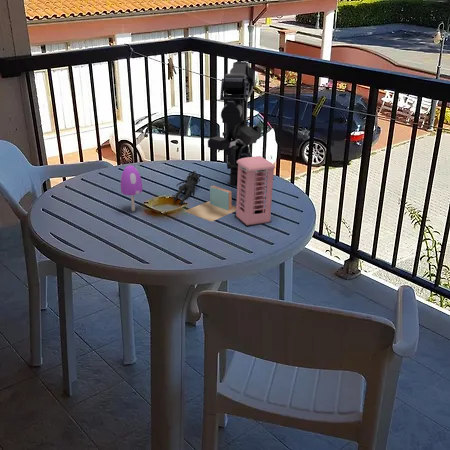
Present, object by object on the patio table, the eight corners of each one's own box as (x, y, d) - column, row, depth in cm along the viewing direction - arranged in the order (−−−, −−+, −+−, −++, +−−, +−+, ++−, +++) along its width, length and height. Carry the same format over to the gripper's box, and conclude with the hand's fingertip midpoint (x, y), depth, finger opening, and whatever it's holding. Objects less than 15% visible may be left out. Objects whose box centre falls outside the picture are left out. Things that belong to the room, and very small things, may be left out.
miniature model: (233, 217, 171) (233, 155, 163) (259, 212, 175) (261, 151, 166) (247, 228, 163) (248, 164, 155) (274, 223, 167) (276, 159, 159)
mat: (214, 199, 184) (214, 198, 184) (241, 209, 177) (241, 208, 177) (184, 212, 175) (184, 211, 175) (211, 222, 167) (211, 221, 167)
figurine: (171, 192, 178) (191, 163, 191) (163, 203, 182) (183, 175, 196) (188, 204, 179) (208, 175, 192) (180, 215, 183) (199, 186, 196)
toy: (147, 208, 178) (145, 164, 171) (136, 216, 172) (133, 170, 166) (130, 205, 180) (126, 161, 174) (118, 212, 175) (114, 167, 168)
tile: (213, 202, 181) (213, 185, 178) (231, 209, 176) (231, 191, 173) (210, 204, 180) (209, 186, 177) (228, 210, 175) (228, 192, 172)
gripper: (233, 126, 159) (233, 177, 166) (273, 115, 172) (272, 163, 178) (206, 120, 166) (207, 169, 173) (246, 109, 179) (246, 156, 185)
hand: (234, 164), depth 177 cm, fingers closed
